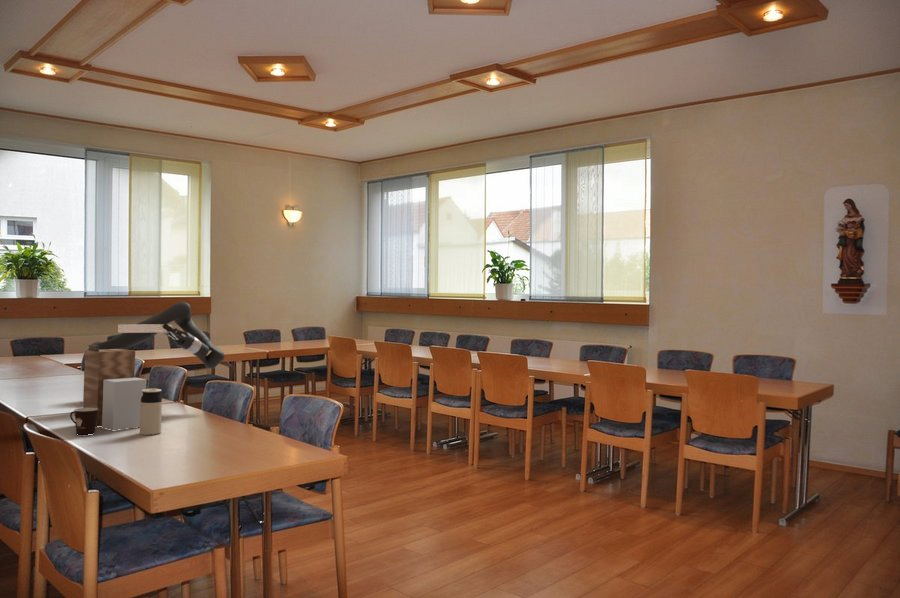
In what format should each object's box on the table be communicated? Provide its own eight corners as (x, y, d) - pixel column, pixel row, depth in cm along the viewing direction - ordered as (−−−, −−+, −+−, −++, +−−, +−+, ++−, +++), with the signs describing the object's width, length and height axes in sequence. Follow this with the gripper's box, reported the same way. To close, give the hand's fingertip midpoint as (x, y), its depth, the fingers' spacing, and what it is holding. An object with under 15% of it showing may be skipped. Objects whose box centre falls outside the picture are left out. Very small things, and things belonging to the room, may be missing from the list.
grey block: (112, 431, 284) (114, 381, 284) (101, 428, 290) (103, 379, 290) (144, 426, 296) (146, 379, 296) (133, 424, 301) (135, 377, 301)
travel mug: (152, 436, 278) (154, 391, 278) (135, 434, 280) (136, 390, 280) (164, 432, 286) (166, 389, 286) (147, 431, 287) (149, 388, 287)
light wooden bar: (122, 332, 303) (122, 324, 303) (117, 332, 305) (118, 324, 305) (172, 332, 322) (172, 324, 322) (167, 331, 324) (168, 324, 324)
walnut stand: (96, 427, 290) (99, 346, 290) (82, 423, 297) (85, 344, 297) (132, 423, 303) (135, 345, 303) (118, 419, 310) (121, 343, 310)
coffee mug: (100, 434, 277) (101, 409, 277) (77, 437, 271) (78, 411, 271) (90, 430, 285) (90, 406, 285) (67, 432, 279) (68, 408, 279)
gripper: (184, 335, 337) (157, 317, 325) (201, 337, 329) (174, 318, 317) (177, 348, 334) (148, 331, 322) (194, 350, 326) (165, 333, 314)
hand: (161, 325), depth 320 cm, fingers closed on light wooden bar, 3 cm apart
